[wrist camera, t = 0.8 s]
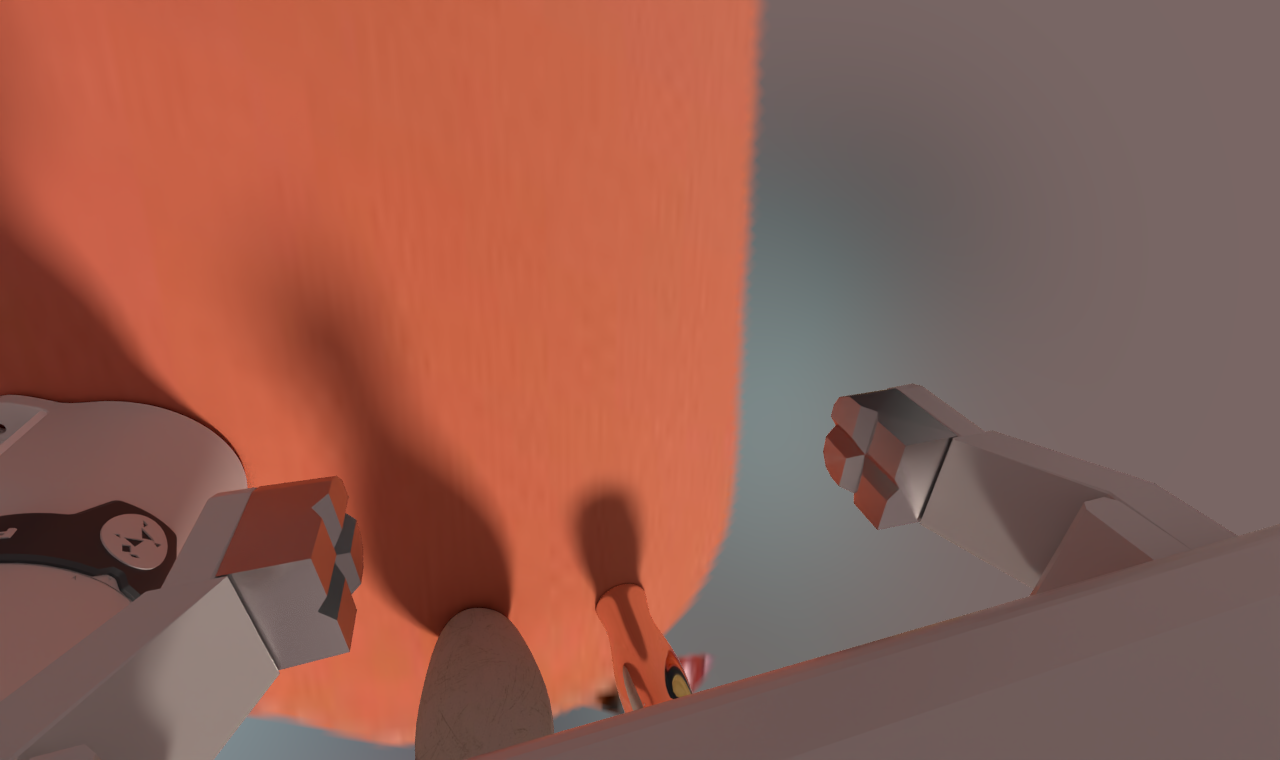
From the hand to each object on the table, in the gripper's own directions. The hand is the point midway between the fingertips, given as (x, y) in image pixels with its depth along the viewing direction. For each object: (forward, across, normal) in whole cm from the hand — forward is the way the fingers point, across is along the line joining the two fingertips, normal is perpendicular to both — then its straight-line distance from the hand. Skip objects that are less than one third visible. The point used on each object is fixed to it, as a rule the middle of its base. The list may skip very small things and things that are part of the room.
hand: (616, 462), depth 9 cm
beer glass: (+34, +9, -50) cm, 61 cm away
